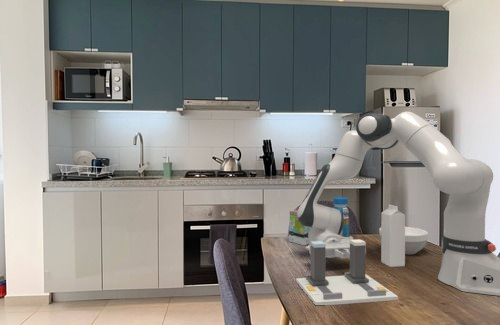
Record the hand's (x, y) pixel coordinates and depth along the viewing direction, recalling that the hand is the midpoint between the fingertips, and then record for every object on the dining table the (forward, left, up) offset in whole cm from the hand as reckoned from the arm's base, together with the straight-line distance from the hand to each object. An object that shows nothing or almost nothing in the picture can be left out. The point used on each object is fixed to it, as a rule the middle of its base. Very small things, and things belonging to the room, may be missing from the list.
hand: (346, 255), depth 113 cm
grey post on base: (-5, +6, -5) cm, 9 cm away
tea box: (+28, -37, -7) cm, 47 cm away
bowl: (-13, -42, -7) cm, 44 cm away
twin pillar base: (-3, +13, -7) cm, 15 cm away
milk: (-12, -21, -7) cm, 25 cm away
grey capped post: (+5, +14, -5) cm, 16 cm away
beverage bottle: (+16, -51, -7) cm, 54 cm away
